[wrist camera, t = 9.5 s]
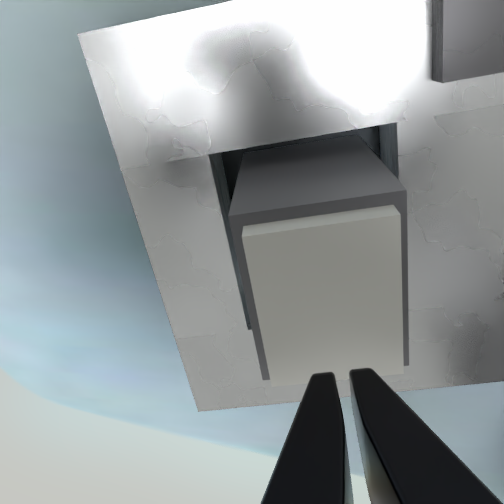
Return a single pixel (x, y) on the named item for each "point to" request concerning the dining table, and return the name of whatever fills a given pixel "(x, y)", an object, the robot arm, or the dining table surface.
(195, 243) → the socket plate
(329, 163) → the plug
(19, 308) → the dining table surface
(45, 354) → the dining table surface
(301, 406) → the robot arm
